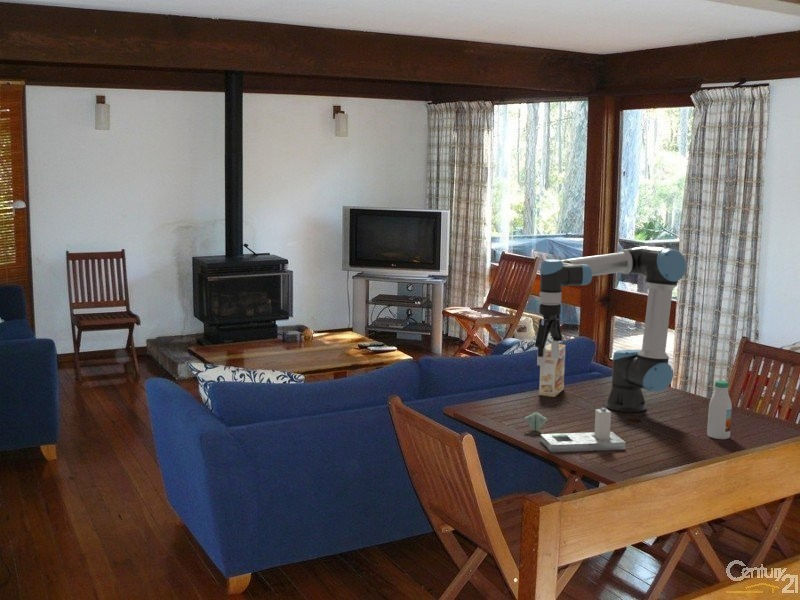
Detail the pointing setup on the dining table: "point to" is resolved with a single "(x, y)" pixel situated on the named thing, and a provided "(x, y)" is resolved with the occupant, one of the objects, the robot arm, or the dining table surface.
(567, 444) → the panel
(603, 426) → the plug
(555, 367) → the coffeecake box
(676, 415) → the dining table surface
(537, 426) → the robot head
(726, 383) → the milk bottle
